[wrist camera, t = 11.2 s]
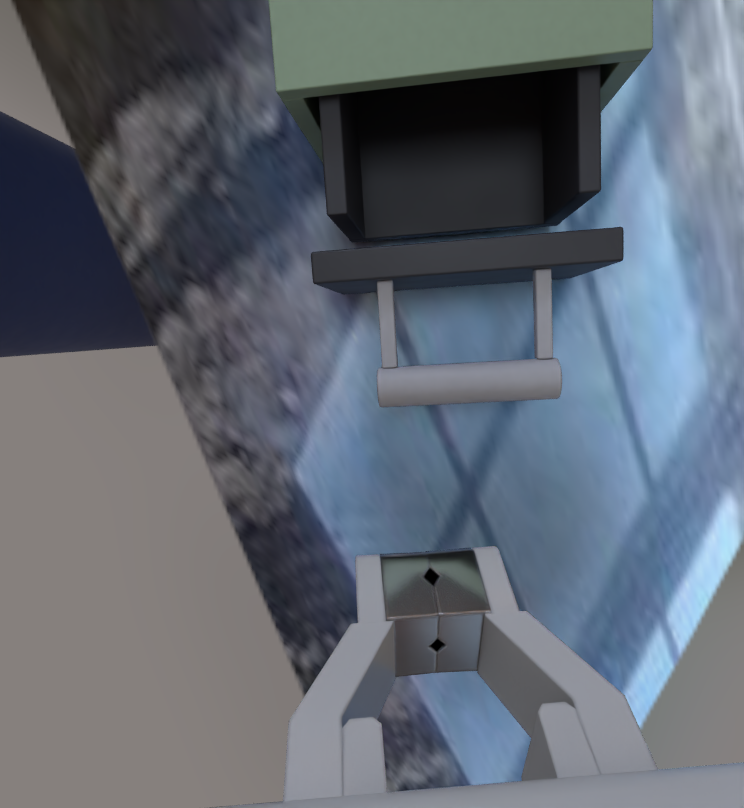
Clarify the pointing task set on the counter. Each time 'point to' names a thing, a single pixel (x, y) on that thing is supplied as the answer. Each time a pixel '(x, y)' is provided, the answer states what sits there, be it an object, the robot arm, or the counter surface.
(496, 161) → the drawer with bar handle
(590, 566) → the counter surface
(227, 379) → the counter surface
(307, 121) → the drawer cabinet
